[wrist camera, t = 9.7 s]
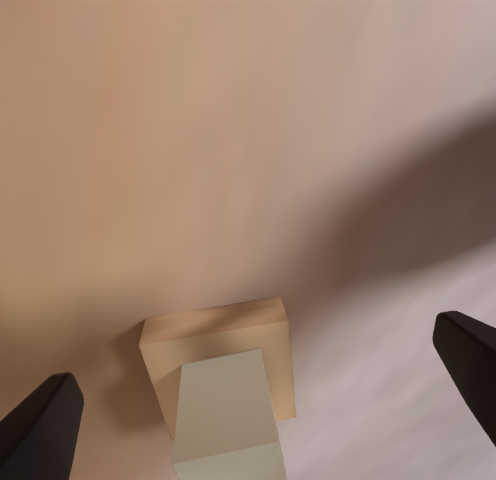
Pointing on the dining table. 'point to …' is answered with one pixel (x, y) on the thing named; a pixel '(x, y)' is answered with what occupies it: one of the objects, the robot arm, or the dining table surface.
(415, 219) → the dining table surface
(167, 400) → the oak block
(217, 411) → the sage cube
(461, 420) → the dining table surface
